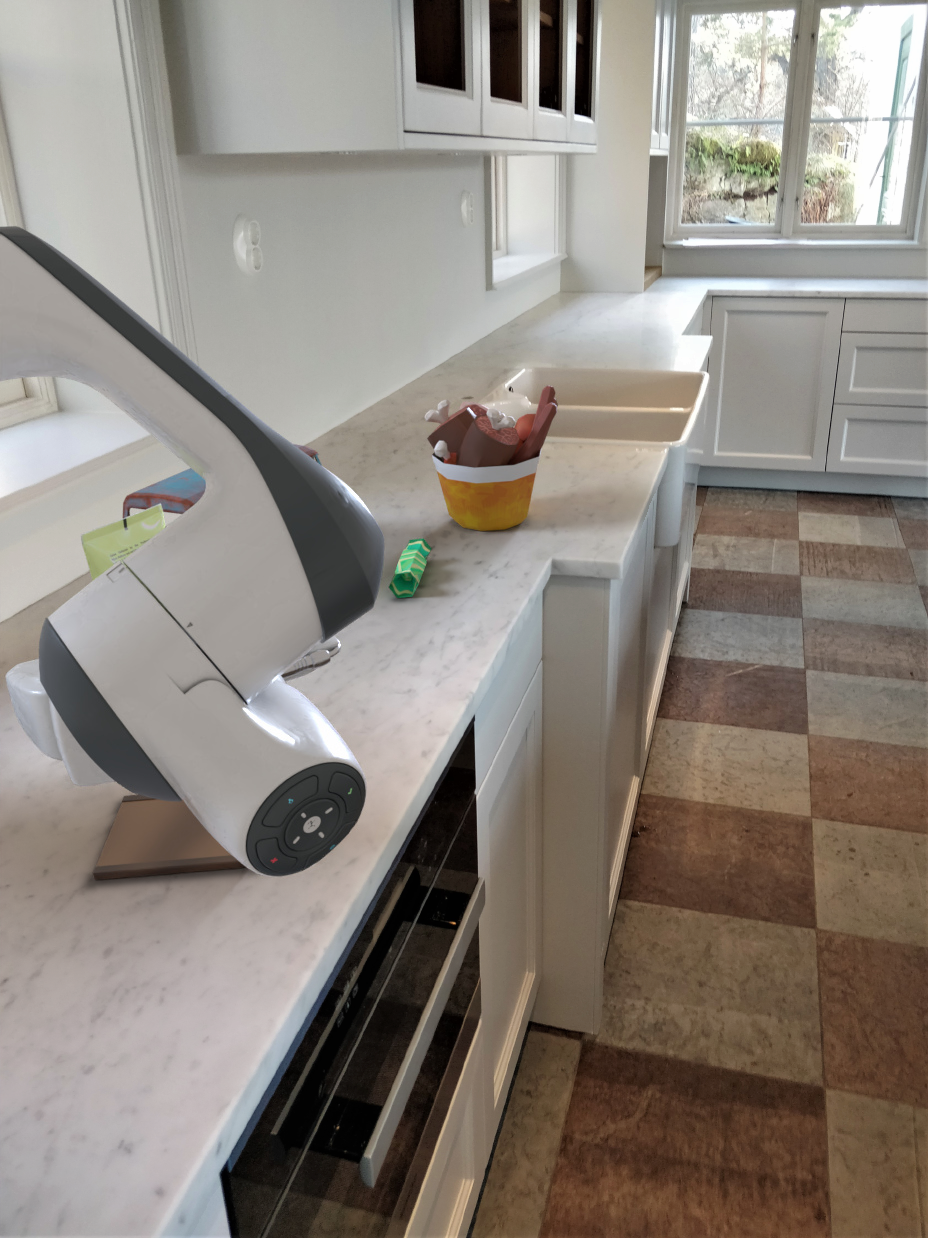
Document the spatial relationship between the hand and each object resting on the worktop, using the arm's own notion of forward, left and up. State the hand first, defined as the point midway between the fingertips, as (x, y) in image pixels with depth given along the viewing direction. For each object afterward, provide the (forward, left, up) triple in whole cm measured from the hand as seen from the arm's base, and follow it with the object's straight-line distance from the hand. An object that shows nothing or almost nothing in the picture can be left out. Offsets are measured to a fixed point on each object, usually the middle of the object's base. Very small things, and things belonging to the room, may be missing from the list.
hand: (140, 624), depth 71 cm
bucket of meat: (+33, +70, -19) cm, 80 cm away
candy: (+20, +49, -19) cm, 57 cm away
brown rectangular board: (0, -1, -18) cm, 19 cm away
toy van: (-2, +56, -19) cm, 59 cm away
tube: (+1, -1, -11) cm, 11 cm away
